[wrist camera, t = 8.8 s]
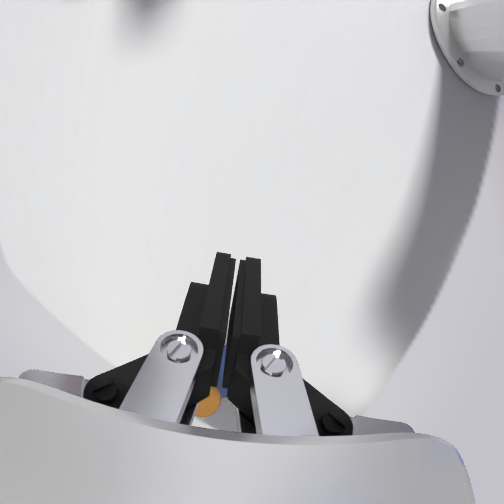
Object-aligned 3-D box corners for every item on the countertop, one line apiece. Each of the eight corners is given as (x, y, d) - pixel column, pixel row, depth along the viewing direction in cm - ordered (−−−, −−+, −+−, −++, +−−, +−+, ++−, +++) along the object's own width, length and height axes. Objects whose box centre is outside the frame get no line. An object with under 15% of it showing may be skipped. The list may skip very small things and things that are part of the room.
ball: (222, 379, 41) (223, 386, 35) (217, 413, 39) (219, 424, 34) (185, 374, 40) (181, 380, 35) (181, 408, 38) (177, 418, 33)
